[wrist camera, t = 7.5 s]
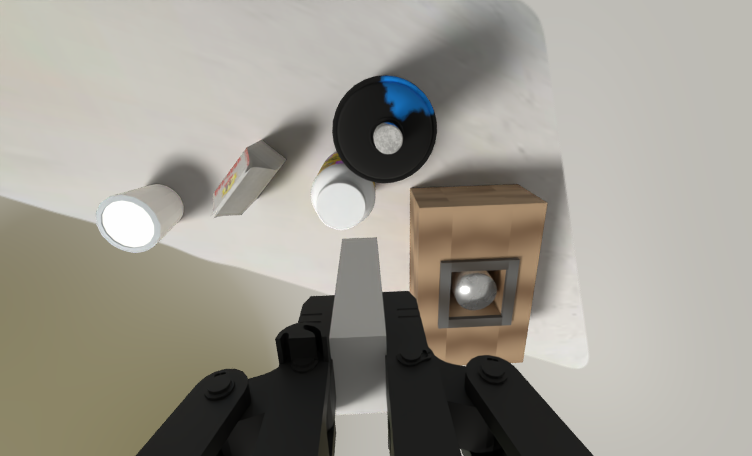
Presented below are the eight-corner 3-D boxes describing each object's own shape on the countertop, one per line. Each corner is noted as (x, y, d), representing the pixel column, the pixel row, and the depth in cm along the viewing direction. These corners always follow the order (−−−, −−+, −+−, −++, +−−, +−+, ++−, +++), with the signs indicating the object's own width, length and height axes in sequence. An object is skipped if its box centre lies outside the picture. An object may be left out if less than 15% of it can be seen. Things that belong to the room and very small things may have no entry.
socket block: (410, 188, 46) (420, 209, 38) (517, 184, 46) (550, 204, 38) (409, 328, 54) (417, 370, 46) (500, 324, 54) (524, 365, 46)
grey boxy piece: (286, 159, 44) (266, 178, 35) (255, 199, 46) (228, 228, 37) (261, 139, 43) (233, 154, 34) (231, 181, 45) (196, 206, 36)
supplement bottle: (369, 145, 44) (372, 167, 32) (377, 196, 46) (382, 234, 34) (315, 153, 44) (298, 177, 32) (326, 203, 46) (313, 244, 34)
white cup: (169, 171, 44) (136, 185, 38) (199, 219, 47) (172, 241, 40) (121, 190, 45) (80, 208, 38) (153, 237, 47) (119, 261, 41)
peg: (442, 246, 49) (456, 275, 42) (478, 245, 49) (498, 273, 42) (441, 278, 51) (454, 311, 44) (475, 276, 51) (494, 309, 44)
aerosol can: (394, 161, 45) (417, 215, 26) (332, 135, 43) (310, 172, 25) (423, 97, 42) (471, 105, 23) (358, 66, 41) (354, 50, 22)
